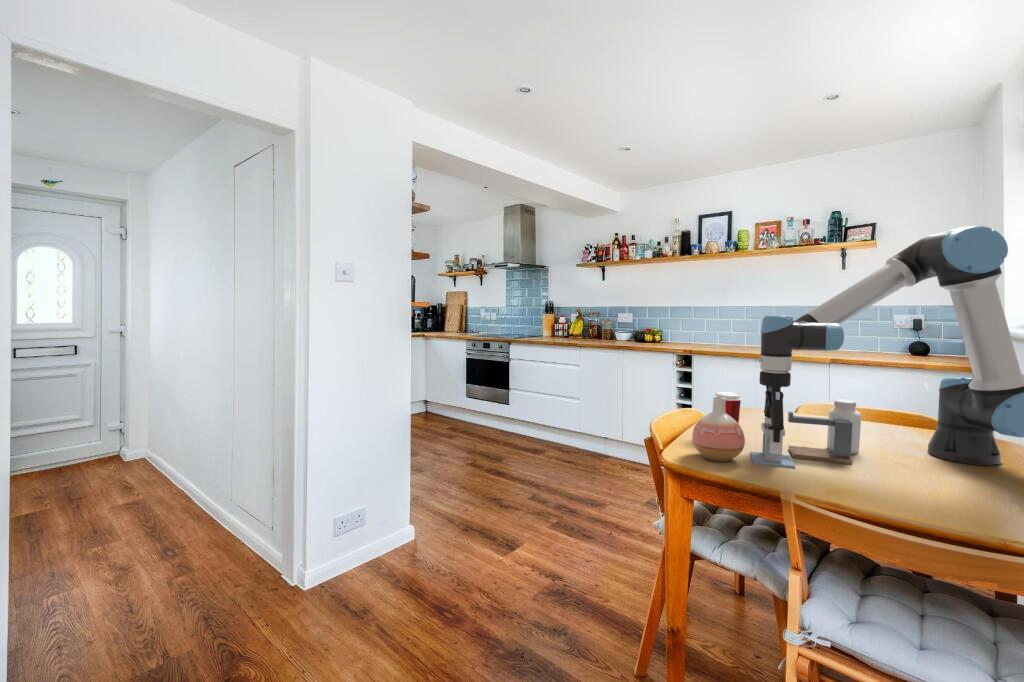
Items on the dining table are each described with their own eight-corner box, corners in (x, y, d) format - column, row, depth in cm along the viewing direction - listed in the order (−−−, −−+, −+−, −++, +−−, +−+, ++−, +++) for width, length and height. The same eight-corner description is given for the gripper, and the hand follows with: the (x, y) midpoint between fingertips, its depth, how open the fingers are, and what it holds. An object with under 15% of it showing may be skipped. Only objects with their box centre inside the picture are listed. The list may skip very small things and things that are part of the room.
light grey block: (779, 455, 135) (781, 424, 135) (783, 463, 129) (785, 430, 128) (760, 453, 137) (761, 422, 137) (762, 461, 131) (764, 428, 130)
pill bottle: (830, 452, 141) (833, 402, 139) (824, 445, 148) (826, 397, 147) (862, 455, 138) (865, 404, 136) (854, 447, 145) (857, 399, 144)
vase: (683, 458, 134) (685, 397, 133) (702, 448, 144) (704, 391, 143) (734, 470, 125) (736, 404, 124) (750, 458, 135) (753, 396, 134)
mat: (789, 457, 136) (789, 455, 136) (795, 468, 127) (795, 466, 127) (750, 453, 140) (750, 451, 140) (753, 463, 130) (753, 461, 130)
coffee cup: (734, 436, 158) (736, 391, 156) (744, 443, 149) (746, 396, 148) (708, 435, 158) (710, 391, 157) (716, 442, 150) (718, 395, 149)
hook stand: (843, 454, 138) (845, 413, 137) (852, 464, 130) (854, 420, 129) (784, 449, 144) (786, 409, 143) (789, 457, 135) (791, 415, 135)
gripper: (755, 365, 144) (753, 434, 146) (765, 376, 121) (761, 458, 123) (783, 366, 141) (780, 436, 143) (798, 378, 118) (795, 461, 120)
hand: (772, 446), depth 133 cm, fingers open, 13 cm apart
